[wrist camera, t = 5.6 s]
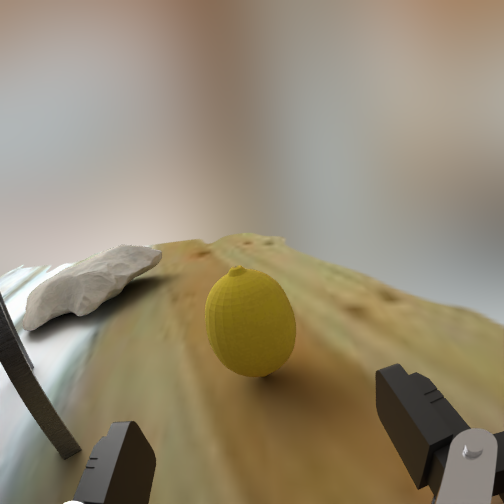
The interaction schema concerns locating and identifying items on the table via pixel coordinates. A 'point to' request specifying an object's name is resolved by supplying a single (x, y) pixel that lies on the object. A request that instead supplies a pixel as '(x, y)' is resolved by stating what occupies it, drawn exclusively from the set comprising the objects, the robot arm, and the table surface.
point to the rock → (88, 283)
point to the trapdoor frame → (31, 386)
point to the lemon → (250, 322)
